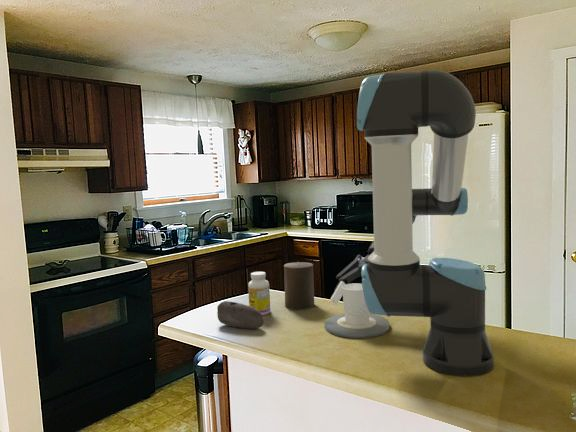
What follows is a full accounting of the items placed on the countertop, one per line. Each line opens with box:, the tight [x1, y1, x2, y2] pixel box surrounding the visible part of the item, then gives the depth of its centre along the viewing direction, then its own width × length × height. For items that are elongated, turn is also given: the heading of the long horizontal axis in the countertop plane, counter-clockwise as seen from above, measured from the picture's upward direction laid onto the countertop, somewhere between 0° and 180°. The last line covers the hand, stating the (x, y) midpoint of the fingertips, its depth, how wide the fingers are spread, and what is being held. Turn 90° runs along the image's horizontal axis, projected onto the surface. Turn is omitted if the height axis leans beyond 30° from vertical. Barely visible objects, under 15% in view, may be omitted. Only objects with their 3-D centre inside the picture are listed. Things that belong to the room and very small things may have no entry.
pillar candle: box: [283, 260, 315, 310], centre depth 157 cm, size 10×10×15 cm
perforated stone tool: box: [216, 300, 264, 330], centre depth 138 cm, size 15×5×7 cm, turn 58°
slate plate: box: [324, 312, 390, 339], centre depth 134 cm, size 18×18×2 cm
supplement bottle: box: [247, 271, 271, 316], centre depth 150 cm, size 7×7×13 cm
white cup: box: [342, 282, 369, 325], centre depth 134 cm, size 8×8×10 cm
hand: (350, 307), depth 132 cm, fingers open, 13 cm apart
